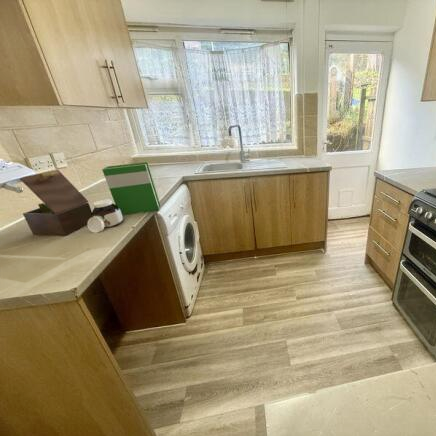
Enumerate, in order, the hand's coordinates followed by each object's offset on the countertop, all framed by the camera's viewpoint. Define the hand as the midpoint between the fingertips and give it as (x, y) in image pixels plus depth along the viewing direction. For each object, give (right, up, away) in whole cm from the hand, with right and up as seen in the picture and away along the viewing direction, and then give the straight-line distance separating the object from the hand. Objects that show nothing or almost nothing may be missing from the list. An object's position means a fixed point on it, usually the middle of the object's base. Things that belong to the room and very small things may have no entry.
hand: (30, 188), depth 101 cm
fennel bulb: (+3, -17, +9) cm, 19 cm away
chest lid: (+8, -1, +3) cm, 9 cm away
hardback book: (+30, -9, +26) cm, 41 cm away
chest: (+5, -17, +10) cm, 20 cm away
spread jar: (+25, -17, +9) cm, 32 cm away
